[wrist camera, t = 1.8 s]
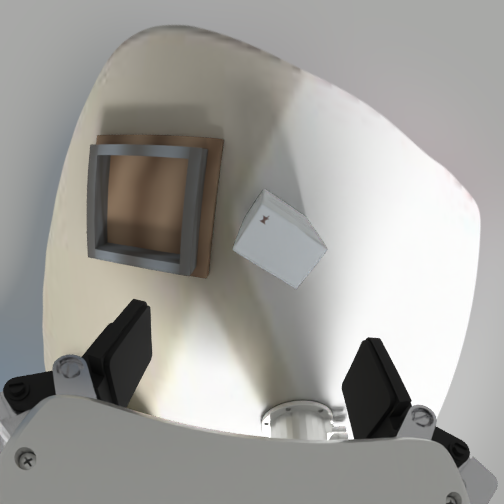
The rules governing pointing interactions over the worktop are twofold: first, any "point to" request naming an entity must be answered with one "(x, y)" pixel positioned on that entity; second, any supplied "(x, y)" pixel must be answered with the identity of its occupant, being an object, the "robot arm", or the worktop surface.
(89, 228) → the socket stand
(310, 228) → the skincare box
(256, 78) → the worktop surface
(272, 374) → the worktop surface
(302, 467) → the robot arm
